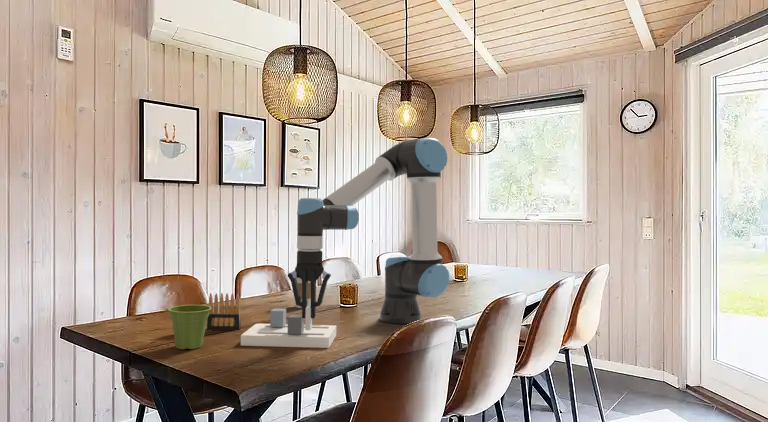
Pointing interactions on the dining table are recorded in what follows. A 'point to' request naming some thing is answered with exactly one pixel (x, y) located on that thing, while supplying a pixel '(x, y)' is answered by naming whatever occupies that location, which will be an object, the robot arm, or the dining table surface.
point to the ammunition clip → (224, 313)
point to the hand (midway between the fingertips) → (308, 329)
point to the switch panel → (288, 336)
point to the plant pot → (189, 325)
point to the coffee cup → (301, 291)
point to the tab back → (278, 317)
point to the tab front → (295, 324)
